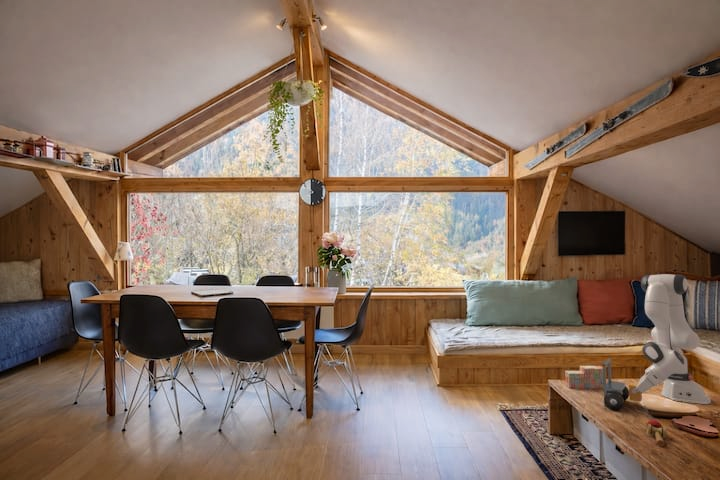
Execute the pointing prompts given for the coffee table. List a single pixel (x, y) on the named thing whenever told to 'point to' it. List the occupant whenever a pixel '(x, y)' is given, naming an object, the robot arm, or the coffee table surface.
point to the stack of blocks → (585, 377)
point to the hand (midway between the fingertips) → (634, 390)
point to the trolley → (613, 390)
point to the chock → (637, 395)
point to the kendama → (657, 431)
